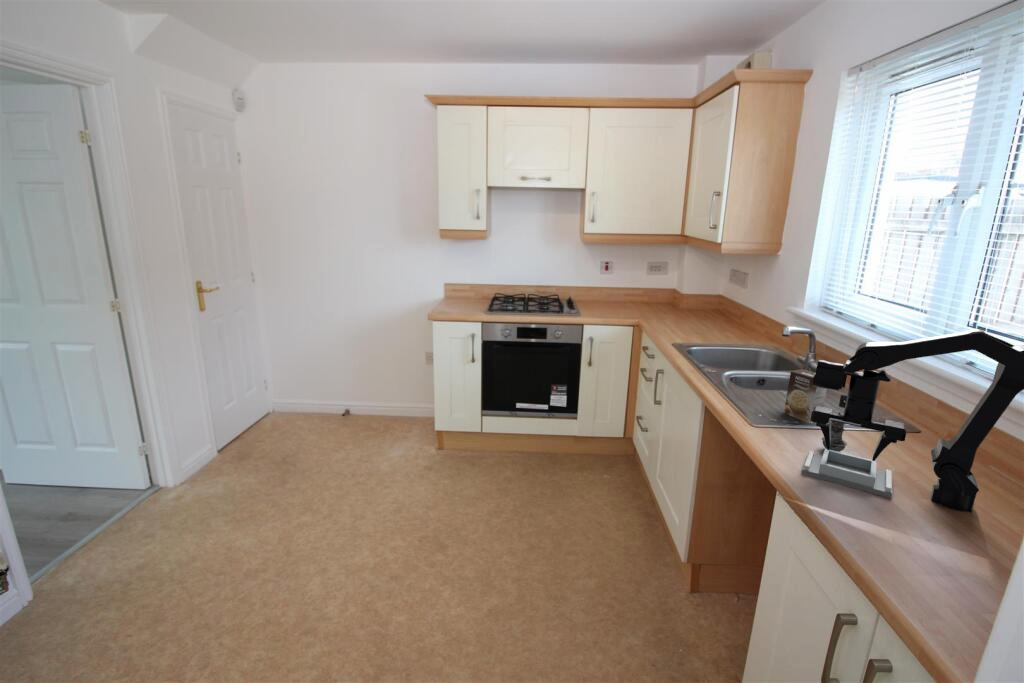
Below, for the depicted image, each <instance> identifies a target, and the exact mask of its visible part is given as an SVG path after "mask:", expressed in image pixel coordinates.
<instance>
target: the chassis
mask: <svg viewBox="0 0 1024 683" xmlns="http://www.w3.org/2000/svg"><path fill="white" fill-rule="evenodd" d="M824 449H825V451H823V453H822V455H819V454H815V451H814V450H809V452H808V454H807V455H806V459H805V462H804V464H803V466H802V469H801V474H802V475H805V476H808V477H812V478H816V479H819V480H823V481H826V482H830V483H832V484H833V483H834V484H837V485H841V486H844V487H847V488H848V487H849V488H853V489H854V490H855V489H856V490H859V491H863V492H867V493H870V494H873V495H878V496H881V497H884V498H887V499H892V497H893V473H892V470H891V469H885V471H883V470H879V469H877V462H878V461H877V460H875V461H872V459H870V458H865V457H862V456H859V455H858V456H857V455H854V454H849V453H845V452H842V451H840V452H837V451H833V450H827V449H826V448H824Z"/></svg>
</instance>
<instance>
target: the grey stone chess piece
mask: <svg viewBox="0 0 1024 683" xmlns="http://www.w3.org/2000/svg"><path fill="white" fill-rule="evenodd" d="M837 414H839V415H842V413H841V411H840V412H838V413H837ZM844 427H845V424H844V423H839V422H835V421H832V422H831V444H830V449H829V450H833V451H837V452H842V451H844V449H845V448H846V446H847V445H848V443H847V442H846V441H845V440H843V433H844V431H845V430H846V429H845V428H844ZM821 440H822V445H823V447H824V449H822V451H823V452H824V451H825V449H827V446H826V442H825V438H824V436H822V437H821Z"/></svg>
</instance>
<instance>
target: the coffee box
mask: <svg viewBox="0 0 1024 683" xmlns="http://www.w3.org/2000/svg"><path fill="white" fill-rule="evenodd" d="M814 374H815V371H814V372H813V371H810V370H807V369H804V368H802V369H801V368H800V369H795V370H791V371H790V373H789V380H788V386H787V393H786V397H785V398H786V399H785V405H784V410H783V413H784V414H786V415H788V416H790V417H793V418H795V419H796V420H800V421H801V422H804V423H806V424H808V423H811V424H816V423H815V422H812V421H810V419H811V414H812V411H813V408H814V407H816V406H820V407H825V402H826V397H827V392H828V389H825V388H819V387H813V378H814Z"/></svg>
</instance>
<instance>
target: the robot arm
mask: <svg viewBox="0 0 1024 683" xmlns="http://www.w3.org/2000/svg"><path fill="white" fill-rule="evenodd" d="M969 351H976V352H978V353H980V354H982V355H983V356H986V357H988V358H989V359H991V360H994V361H995V362H997V365H996V368H995V372H994V375H993V379H992V382H991V384H990V385H989V387H988V388H987V389H986V391H985V392H984V394H983V395H982V397H981V398H980V400H979V401H978V403H977V404H976V405H975V407H974V408H973V410H972V411H971V412H970V414H969V416H968V417H967V418H966V419H965V421H964V423H963V424H962V426H961V427H960V429H959V430H958V431H957V433H956V434H955V435H954V436H953V437H952V438H950V439H949V440H946V439H943V438H941V437H939V440H938V442H937V445H936V446H935V447H934V448H933V449H932V450H930V455H931V461H932V462H931V463H932V469H933V472H934V474H935V476H936V477H937V478H938V479H937V482H936V484H933V485H932V489H931V492H930V501H931V502H933V503H936V504H939V505H941V506H942V507H945V508H946V509H950V510H952V511H957V512H968V513H972V512H973V508H974V505H975V501H976V497H977V493H978V492H980V488H979V486H978V484H977V481H976V476H975V475H974V473H973V472H972V471H971V470H972V467H973V464H974V462H975V458H976V453H977V451H978V448H980V446H981V444H982V443H983V442H984V440H985V439H986V437H987V436H988V435H989V433H990V431H992V429H993V428H994V426H995V425H996V423H998V421H999V420H1000V419H1001V417H1002V415H1003V414H1004V413H1005V411H1006V410H1007V409H1008V407H1009V405H1010V404H1011V403H1012V402H1013V400H1014V399H1015V398H1016V396H1017V395H1018V394H1020V392H1022V391H1024V345H1022V344H1021V345H1014V344H1012V343H1009V342H1007V341H1005V340H1003V339H1000V338H999V337H995V336H993V335H991V334H988V333H986V332H985V331H983V330H982V329H978V328H972V329H968V330H965V331H960V332H954V333H949V334H948V333H947V334H941V335H936V336H935V335H934V336H929V337H923V338H917V339H912V340H911V339H910V340H905V341H866V342H864V343H862V344H861V343H860V344H859V345H858V346H857V348H856V350H855V353H854V355H853V356H852V357H850V358H848V359H846V361H845V362H844V363H839V362H831V361H827V360H823V359H818V361H817V365H816V368H815V371H814V373H815V374H814V378H813V387H819V388H825V389H827V390H831V391H835V392H836V391H837V392H839V391H840V390H842V388H844V389H845V388H846V385H847V381H848V376H850V379H849V384H848V389H847V394H846V395H845V394H840V398H839V403H838V407H839V408H842V409H844V411H843V414H840V415H839V414H838V413H833V409H832V408H830V407H825V406H824V407H820V406H816V407H814V408H813V411H812V414H811V419H810V421H812V422H815V423H814V424H815V426H817V427H819V428H820V430H821V431H822V434H823V437H824V438H825V442H826V446H827V450H829V449H830V444H831V422H832V421H835V422H839V423H844V425H850V426H855V427H857V428H858V427H859V428H865V429H869V430H874V431H878V432H880V435H879V438H878V441H877V443H876V446H875V449H874V452H873V454H872V459H871V460H872V461H877V459H878V457H879V456H880V455H881V453H882V452H883V451H884V450H885V449H886V448H887V447H888V446H889V445H890V444H892V443H893V444H897V443H898V441H899V442H905V440H906V436H907V425H906V424H905V423H904V422H900V421H894V420H890V419H885V422H884V423H882V422H878V421H873V418H874V413H875V409H876V408H875V407H876V404H877V399H878V394H879V388H880V383H881V382H886V383H887V382H888V383H890V382H891V375H889V374H888V373H887V371H886V369H884V368H887V367H889V366H892V365H895V364H898V363H900V362H903V361H907V360H913V359H919V358H921V359H922V358H926V357H932V356H939V355H940V356H941V355H947V354H953V353H961V352H969ZM879 369H880V370H879ZM876 370H878V371H876Z"/></svg>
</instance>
